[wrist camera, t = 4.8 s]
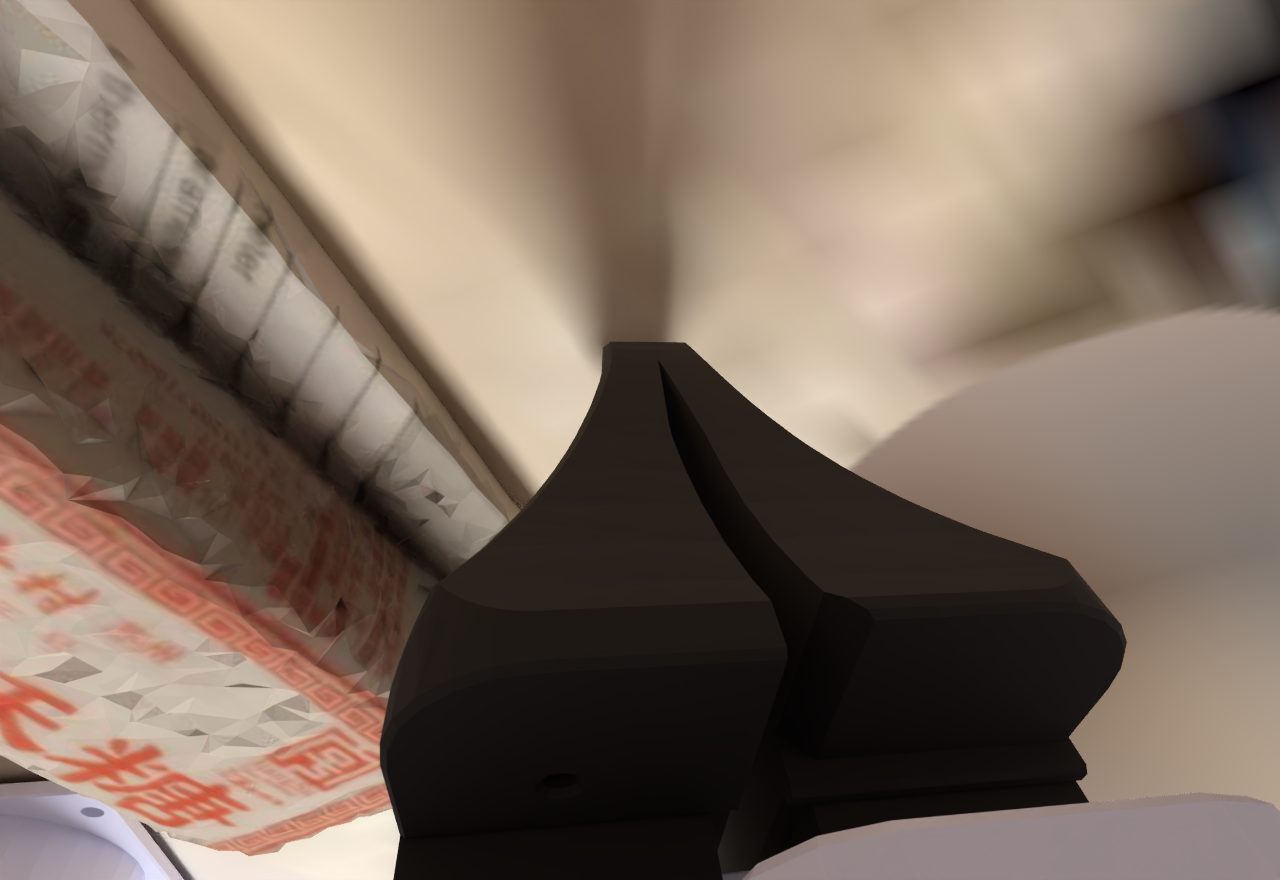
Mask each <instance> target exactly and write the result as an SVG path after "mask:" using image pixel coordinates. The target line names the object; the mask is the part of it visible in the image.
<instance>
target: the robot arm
mask: <svg viewBox="0 0 1280 880" xmlns="http://www.w3.org/2000/svg"><path fill="white" fill-rule="evenodd" d="M1126 643H1127V642H1126V638H1125V635H1124V632H1123V629H1122V626H1121V624H1120V623H1119V622H1118V620H1117V619H1116V618H1115V617H1114V615H1113V614H1112V613H1111V612H1110V611H1109V609H1108V608H1107V607H1106V606H1105V605H1104V603H1102V601H1101V600H1100V599H1099V597H1098V596H1097V595H1096V594H1095V593H1094V592H1093V590H1092V589H1091V588H1090V587H1089V585H1087V583H1086V582H1085V581H1084V580H1083V578H1082V577H1081V576H1080V575H1079V573H1078V572H1077V571H1076V570H1075V568H1074V567H1073V566H1072V565H1071V564H1070V562H1069V561H1068V560H1066V559H1064V558H1061V557H1058V556H1055V555H1052V554H1049V553H1046V552H1043V551H1040V550H1037V549H1034V548H1031V547H1028V546H1025V545H1022V544H1019V543H1015V542H1013V541H1010V540H1007V539H1004V538H1001V537H998V536H994V535H992V534H988V533H986V532H983V531H980V530H977V529H975V528H972V527H970V526H967V525H965V524H962V523H960V522H957V521H955V520H952V519H950V518H947V517H945V516H942V515H940V514H938V513H935V512H933V511H930V510H928V509H926V508H923V507H921V506H919V505H917V504H914V503H912V502H910V501H908V500H906V499H903V498H901V497H899V496H897V495H895V494H893V493H891V492H889V491H887V490H885V489H883V488H881V487H879V486H877V485H875V484H874V483H871V482H869V481H868V480H866V479H863V478H862V477H860V476H858V475H856V474H855V473H853V472H851V471H849V470H847V469H846V468H844V467H842V466H840V465H839V464H837V463H835V462H834V461H832V460H831V459H829V458H827V457H826V456H824V455H823V454H821V453H819V452H818V451H816V450H815V449H813V448H811V447H810V446H808V445H807V444H805V443H804V442H802V441H801V440H800V439H798V438H797V437H795V436H794V435H792V434H791V433H790V432H788V431H787V430H786V429H784V428H783V427H782V426H780V425H779V424H778V423H776V422H775V421H774V420H772V419H771V418H770V417H769V416H767V415H766V414H765V413H763V412H762V411H761V410H760V409H759V408H757V407H756V406H755V405H754V404H752V403H751V402H750V401H749V400H748V399H747V398H745V397H744V396H743V395H742V394H741V393H740V392H739V391H737V390H736V389H735V388H734V387H733V386H732V385H731V384H730V383H728V382H727V381H726V380H725V379H724V378H723V377H722V376H721V375H720V374H719V373H718V372H716V371H715V370H714V369H713V368H712V367H711V366H710V365H709V364H708V363H707V362H706V361H705V360H704V359H703V358H702V357H700V356H699V355H698V354H697V353H696V352H695V351H694V350H693V349H692V348H691V347H690V346H688V345H687V344H686V343H676V342H610V343H608V344H607V345H606V346H605V347H604V348H603V357H602V375H601V379H600V382H599V385H598V388H597V390H596V393H595V396H594V399H593V401H592V404H591V406H590V409H589V411H588V413H587V415H586V417H585V419H584V421H583V423H582V425H581V427H580V429H579V431H578V433H577V435H576V437H575V438H574V440H573V442H572V443H571V445H570V447H569V449H568V450H567V452H566V453H565V455H564V456H563V458H562V459H561V461H560V462H559V464H558V465H557V467H556V468H555V470H554V471H553V472H552V474H551V475H550V476H549V478H548V479H547V480H546V481H545V483H544V484H543V485H542V487H541V488H540V489H539V490H538V492H537V493H536V494H535V495H534V497H533V498H532V499H531V500H530V501H529V502H528V504H527V505H526V506H525V507H524V508H523V509H522V510H521V511H520V512H519V513H518V514H517V515H516V516H515V517H514V518H513V519H512V520H511V521H510V522H509V523H508V524H507V525H506V526H505V527H504V528H503V529H502V530H501V531H500V532H499V533H498V534H497V535H496V536H495V537H494V538H493V539H492V540H491V541H490V542H489V543H487V544H486V545H485V546H484V547H483V548H482V549H481V550H480V551H478V552H477V553H476V554H474V555H473V556H472V557H471V558H469V559H468V560H467V561H466V562H464V563H463V564H462V565H461V566H459V567H458V568H457V569H455V570H454V571H453V572H452V573H450V574H449V575H448V576H447V577H445V578H444V579H443V580H441V581H440V582H439V583H437V584H436V585H434V586H433V587H432V589H431V591H430V593H429V595H428V597H427V599H426V601H425V603H424V605H423V607H422V609H421V611H420V613H419V615H418V617H417V620H416V622H415V624H414V626H413V629H412V631H411V633H410V636H409V638H408V640H407V642H406V645H405V647H404V650H403V653H402V656H401V658H400V661H399V664H398V667H397V670H396V673H395V676H394V679H393V682H392V685H391V689H390V694H389V698H388V703H387V708H386V713H385V718H384V723H383V728H382V733H381V738H380V767H381V771H382V774H383V778H384V781H385V785H386V788H387V791H388V795H389V798H390V802H391V805H392V809H393V812H394V815H395V819H396V822H397V826H398V829H399V833H400V841H399V847H398V854H397V860H396V866H395V873H394V879H393V880H1280V811H1279V810H1278V809H1277V808H1276V807H1275V805H1274V804H1271V803H1268V802H1265V801H1261V800H1258V799H1255V798H1251V797H1248V796H1239V795H1224V794H1210V793H1190V794H1179V795H1168V796H1157V797H1146V798H1135V799H1124V800H1113V801H1103V802H1092V803H1089V801H1088V800H1087V798H1086V797H1085V795H1084V793H1083V792H1082V790H1081V788H1080V787H1079V785H1078V784H1077V782H1076V781H1077V780H1082V779H1083V778H1084V777H1085V776H1086V775H1087V768H1086V763H1085V762H1084V760H1083V759H1082V757H1081V756H1080V754H1079V753H1078V751H1077V750H1076V748H1075V747H1074V745H1073V743H1072V742H1071V740H1070V739H1069V736H1070V735H1071V733H1072V732H1073V731H1074V730H1075V728H1076V727H1077V726H1078V725H1079V724H1080V722H1081V721H1082V720H1083V719H1084V717H1085V716H1086V715H1087V714H1088V712H1089V711H1090V710H1091V709H1092V708H1093V706H1094V705H1095V704H1096V703H1097V702H1098V700H1099V699H1100V698H1101V697H1102V696H1103V694H1104V693H1105V692H1106V690H1107V689H1108V688H1109V687H1110V685H1111V683H1112V682H1113V680H1114V679H1115V677H1116V675H1117V673H1118V672H1119V671H1120V669H1121V665H1122V662H1123V657H1124V653H1125V648H1126ZM0 880H184V879H183V877H182V876H181V875H180V874H179V872H178V871H177V870H176V868H175V867H174V866H173V864H172V863H171V862H170V861H169V859H168V858H167V857H166V855H165V854H164V853H163V852H162V850H161V849H160V848H159V846H158V845H157V844H156V842H155V841H154V840H153V839H152V837H151V836H150V835H149V833H148V832H147V831H146V829H145V828H144V827H143V826H142V824H141V823H140V822H139V821H137V820H135V819H132V818H130V817H128V816H126V815H124V814H122V813H120V812H118V811H116V810H114V809H112V808H110V807H109V806H107V805H105V804H104V803H102V802H100V801H99V800H96V799H92V798H87V797H82V796H81V795H79V794H78V793H76V792H73V791H71V790H69V789H67V788H65V787H63V786H61V785H59V784H56V783H54V782H52V781H37V782H23V783H8V784H0Z"/></svg>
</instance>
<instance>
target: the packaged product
mask: <svg viewBox="0 0 1280 880" xmlns="http://www.w3.org/2000/svg"><path fill="white" fill-rule="evenodd" d="M520 511H521V509H520V508H519V507H518V506H517V505H516V504H515V503H514V502H513V501H512V500H511V498H510V497H509V496H508V495H507V493H506V492H505V490H504V489H503V488H502V486H501V485H500V483H499V482H498V481H497V479H496V478H495V476H494V475H493V474H492V472H491V471H490V469H489V468H488V467H487V465H486V464H485V462H484V461H483V460H482V458H481V457H480V455H479V454H478V453H477V451H476V450H475V448H474V447H473V446H472V444H471V443H470V442H469V440H468V439H467V437H466V436H465V435H464V433H463V432H462V430H461V429H460V428H459V426H458V425H457V423H456V422H455V421H454V419H453V418H452V416H451V415H450V414H449V412H448V411H447V409H446V408H445V407H444V405H443V404H442V402H441V401H440V400H439V398H438V397H437V395H436V394H435V393H434V391H433V390H432V388H431V387H430V386H429V384H428V383H427V382H426V380H425V379H424V378H423V376H422V375H421V374H420V372H419V371H418V370H417V368H416V367H415V366H414V365H413V364H412V363H411V362H410V361H409V360H408V358H407V357H406V356H405V354H404V353H403V352H402V350H401V349H400V348H399V347H398V345H397V344H396V343H395V341H394V340H393V339H392V337H391V336H390V335H389V334H388V332H387V331H386V330H385V328H384V327H383V326H382V324H381V323H380V322H379V321H378V319H377V318H376V317H375V315H374V314H373V313H372V311H371V310H370V309H369V307H368V306H367V305H366V304H365V302H364V301H363V300H362V298H361V297H360V296H359V294H358V293H357V292H356V291H355V289H354V288H353V287H352V285H351V284H350V283H349V281H348V280H347V279H346V278H345V276H344V275H343V274H342V272H341V271H340V270H339V268H338V267H337V266H336V264H335V263H334V262H333V261H332V259H331V258H330V257H329V255H328V254H327V253H326V251H325V250H324V249H323V247H322V246H321V245H320V243H319V242H318V241H317V239H316V238H315V237H314V235H313V234H312V233H311V231H310V230H309V229H308V227H307V226H306V225H305V223H304V222H303V221H302V219H301V218H300V217H299V215H298V214H297V213H296V211H295V210H294V209H293V207H292V206H291V205H290V203H289V202H288V200H287V199H286V198H285V197H284V195H283V194H282V193H281V192H280V190H279V189H278V188H277V186H276V185H275V184H274V183H273V181H272V180H271V179H270V178H269V176H268V175H267V174H266V172H265V171H264V170H263V169H262V167H261V166H260V165H259V164H258V162H257V161H256V160H255V158H254V157H253V156H252V155H251V153H250V152H249V151H248V150H247V148H246V147H245V146H244V144H243V143H242V142H241V141H240V139H239V138H238V137H237V135H236V134H235V133H234V132H233V130H232V129H231V128H230V127H229V125H228V124H227V123H226V121H225V120H224V119H223V118H222V116H221V115H220V114H219V113H218V111H217V110H216V109H215V107H214V106H213V105H212V104H211V102H210V101H209V100H208V99H207V97H206V96H205V95H204V93H203V92H202V91H201V90H200V88H199V87H198V86H197V85H196V83H195V82H194V81H193V79H192V78H191V77H190V76H189V74H188V73H187V72H186V71H185V69H184V68H183V67H182V66H181V65H180V63H179V62H178V61H177V60H176V59H175V58H174V56H173V55H172V54H171V53H170V51H169V50H168V49H167V48H166V46H165V45H164V44H163V42H162V41H161V40H160V39H159V37H158V36H157V35H156V33H155V32H154V31H153V29H152V28H151V27H150V26H149V24H148V23H147V22H146V20H145V19H144V18H143V17H142V15H141V14H140V13H139V11H138V10H137V9H136V7H135V6H134V5H133V4H132V2H131V1H130V0H0V756H3V757H5V758H7V759H9V760H11V761H12V762H14V763H16V764H18V765H20V766H21V767H23V768H25V769H27V770H29V771H31V772H33V773H35V774H38V775H40V776H42V777H44V778H46V779H48V780H50V781H52V782H54V783H56V784H59V785H61V786H63V787H65V788H67V789H69V790H71V791H73V792H76V793H78V794H79V795H81V796H82V797H87V798H92V799H96V800H99V801H100V802H102V803H104V804H105V805H107V806H109V807H110V808H112V809H114V810H116V811H118V812H120V813H122V814H124V815H126V816H128V817H130V818H132V819H135V820H137V821H140V822H142V823H145V824H147V825H149V826H150V827H151V828H152V829H153V830H154V831H155V832H161V831H165V832H167V834H168V835H169V837H171V838H175V839H179V840H183V841H187V842H191V843H195V844H198V845H201V846H205V847H208V848H212V849H215V850H218V851H240V852H242V853H244V854H246V855H248V856H253V855H260V854H267V853H274V852H279V850H280V849H281V848H282V847H283V846H284V845H285V843H288V842H291V841H296V840H301V839H306V838H311V837H313V836H314V835H316V834H318V833H319V832H321V831H323V830H324V829H326V828H328V827H332V826H336V825H340V824H344V823H348V822H351V821H353V820H355V819H356V818H358V817H364V816H371V815H374V814H377V813H380V812H383V811H386V810H389V809H392V805H391V802H390V798H389V795H388V791H387V788H386V785H385V781H384V778H383V774H382V771H381V767H380V738H381V733H382V728H383V723H384V718H385V713H386V708H387V703H388V698H389V694H390V689H391V685H392V682H393V679H394V676H395V673H396V670H397V667H398V664H399V661H400V658H401V656H402V653H403V650H404V647H405V645H406V642H407V640H408V638H409V636H410V633H411V631H412V629H413V626H414V624H415V622H416V620H417V617H418V615H419V613H420V611H421V609H422V607H423V605H424V603H425V601H426V599H427V597H428V595H429V593H430V591H431V589H432V587H433V586H434V585H436V584H437V583H439V582H440V581H441V580H443V579H444V578H445V577H447V576H448V575H449V574H450V573H452V572H453V571H454V570H455V569H457V568H458V567H459V566H461V565H462V564H463V563H464V562H466V561H467V560H468V559H469V558H471V557H472V556H473V555H474V554H476V553H477V552H478V551H480V550H481V549H482V548H483V547H484V546H485V545H486V544H487V543H489V542H490V541H491V540H492V539H493V538H494V537H495V536H496V535H497V534H498V533H499V532H500V531H501V530H502V529H503V528H504V527H505V526H506V525H507V524H508V523H509V522H510V521H511V520H512V519H513V518H514V517H515V516H516V515H517V514H518V513H519V512H520Z"/></svg>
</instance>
